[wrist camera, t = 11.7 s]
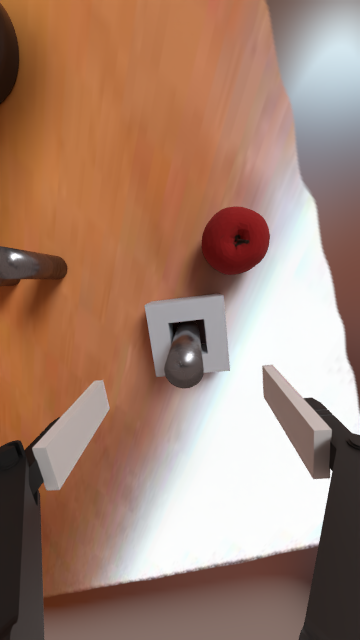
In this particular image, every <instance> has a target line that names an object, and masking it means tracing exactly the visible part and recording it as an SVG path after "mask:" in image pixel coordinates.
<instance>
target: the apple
mask: <svg viewBox="0 0 360 640" xmlns="http://www.w3.org/2000/svg"><path fill="white" fill-rule="evenodd" d="M269 239H270V234H269V229H268V226H267V223H266V221H265V220H264V218H263V217H262V216H261V215H260V214H258V213H256V212H255V211H252V210H250V209H247V208H244V207H229V208H225V209H222V210H221V211H219V212H218V213H216V214H215V215H214V216H213V217H212V218H211V220H210V221H209V222H208V224H207V225H206V227H205V230H204V232H203V236H202V251H203V255H204V257H205V259H206V260H207V262H208V263H209V264H210V266H212V267H213V268H214V269H216V270H217V271H219V272H221V273H224V274H228V275H234V274H239V273H243V272H246V271H248V270H250V269H252V268H253V267H254V266H255V265H257V264H258V263H259V262H260V261H261V260H262V259H263V258H264V256H265V254H266V252H267V250H268V247H269Z"/></svg>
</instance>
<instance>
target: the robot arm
mask: <svg viewBox="0 0 360 640" xmlns="http://www.w3.org/2000/svg"><path fill="white" fill-rule="evenodd" d="M18 64H19V50H18V42H17V37H16V33H15V30H14V27H13V24H12V22H11V20H10V18H9V16H8V14H7V12H6V10H5V9H4V7H3V6H2V4H1V3H0V103H1V102H2V101H3V100H4V99H5V98H6V97H7V95H8V94H9V92H10V91H11V89H12V87H13V85H14V82H15V79H16V76H17V71H18ZM262 367H263V390H264V398H265V400H266V401H267V403H268V405H269V406H270V408H271V410H272V411H273V413H274V415H275V416H276V418H277V420H278V421H279V423H280V425H281V426H282V428H283V430H284V431H285V433H286V435H287V436H288V438H289V439H290V441H291V443H292V444H293V446H294V448H295V449H296V451H297V453H298V454H299V456H300V458H301V459H302V461H303V463H304V464H305V466H306V468H307V469H308V471H309V473H310V474H311V476H312V478H313V479H323V478H330V468H331V470H332V471H333V472H332V477H331V482H330V488H329V493H328V499H327V504H326V509H325V515H324V520H323V526H322V531H321V536H320V542H319V547H318V553H317V558H316V563H315V569H314V574H313V580H312V586H311V591H310V596H309V602H308V607H307V612H306V618H305V622H304V626H303V629H302V630H301V633H300V636H299V640H360V435H357V434H353V433H351V432H350V431H349V430H348V429H347V428H346V427H345V426H344V425H343V424H342V423H341V422H340V421H339V420H338V419H337V418H336V417H335V416H334V415H332V413H331V412H330V411H329V410H327V408H326V407H325V406H324V405H323V404H321V403H320V402H319V401H317V400H315V399H313V398H302V396H301V395H300V394H299V393H298V392H297V391H296V390H295V389H294V388H293V387H292V386H291V384H290V383H289V382H288V381H287V380H286V379H285V378H284V377H283V376H282V375H281V374H280V372H279V371H278V370H277V369H276V368H275V367H274V366H273V365H265V366H262ZM109 409H110V408H109V404H108V400H107V395H106V391H105V387H104V382H103V380H100V381H94V382H93V383H92V384H91V385H90V386H89V387H88V388H87V389H86V391H85V392H84V393H83V394H82V395H81V396H80V397H79V398H78V399H77V400H76V401H75V402H74V404H73V405H72V406H71V407H70V408H69V409H68V410H67V411H66V412H65V413H64V414H63V415H62V416H61V417H59V418H57V419H56V420H54V421H53V422H52V423H50V424H49V425H48V426H47V427H46V429H45V430H44V431H43V432H42V433H41V434H40V436H38V437H37V438H36V439H35V440H34V441H33V442H32V443H31V444H30V445H29V446H28V447H27V448H26V449H25V450H24V448H23V445H22V443H21V441H18V440H17V441H12V442H9V443H7V444H5V445H3V446H1V447H0V640H44V615H43V581H42V548H41V514H40V493H39V490H38V489H39V487H40V486H41V484H42V483H43V482H44V485H45V488H46V490H60V488H61V487H62V485H63V484H64V482H65V480H66V479H67V477H68V476H69V474H70V472H71V471H72V469H73V467H74V466H75V464H76V463H77V461H78V459H79V458H80V456H81V454H82V453H83V451H84V450H85V448H86V446H87V445H88V443H89V441H90V440H91V438H92V437H93V435H94V433H95V432H96V430H97V428H98V427H99V425H100V424H101V422H102V420H103V419H104V417H105V415H106V414H107V412H108V411H109Z"/></svg>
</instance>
